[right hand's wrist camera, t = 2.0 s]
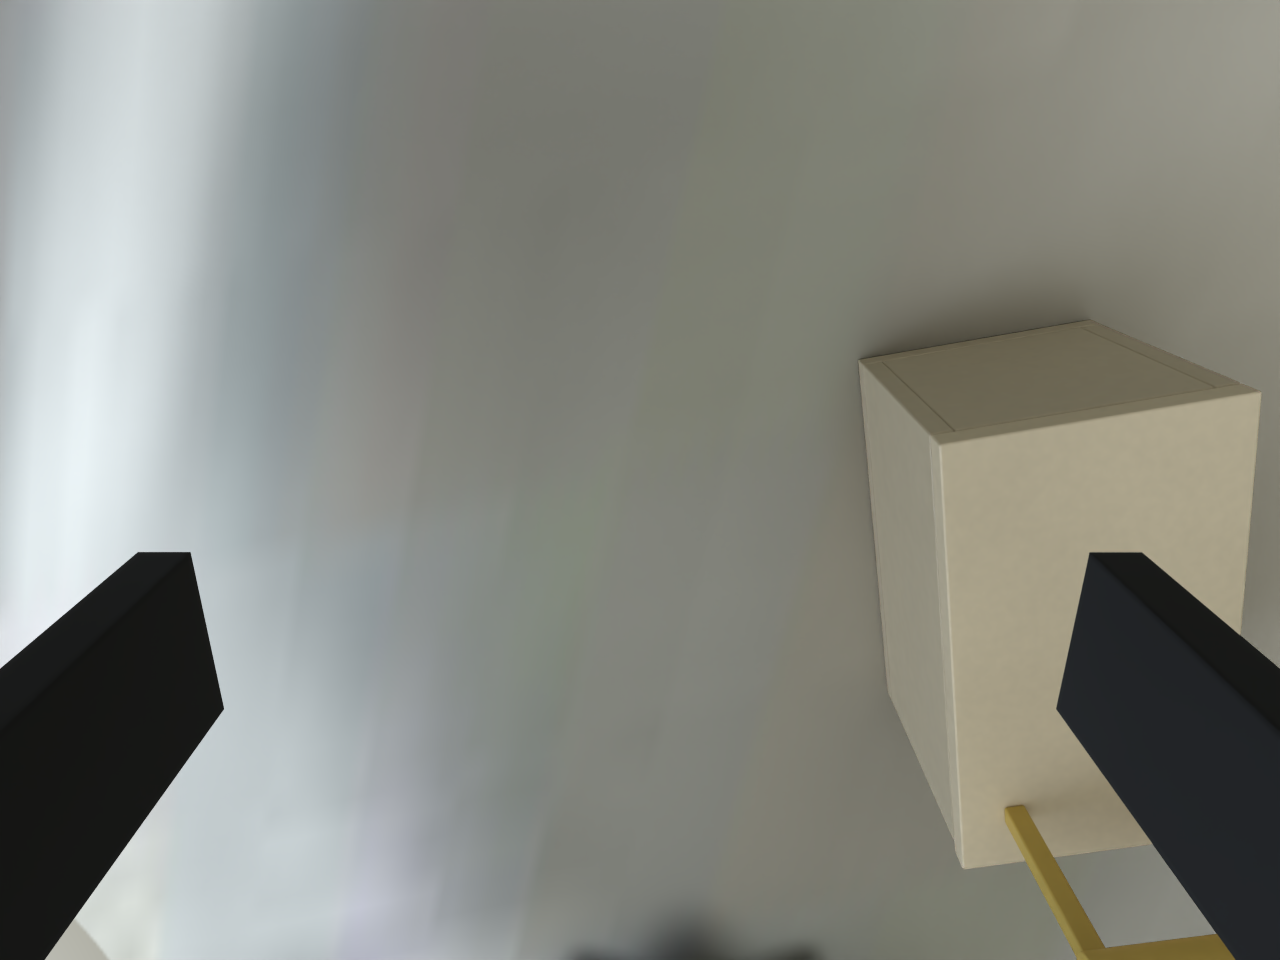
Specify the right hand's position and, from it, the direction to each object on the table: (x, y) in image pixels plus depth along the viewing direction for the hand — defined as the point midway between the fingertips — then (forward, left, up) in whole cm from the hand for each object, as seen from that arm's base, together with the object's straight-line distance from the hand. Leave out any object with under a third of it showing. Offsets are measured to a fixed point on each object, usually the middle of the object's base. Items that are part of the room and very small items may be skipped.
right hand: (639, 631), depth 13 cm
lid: (+9, +15, -14) cm, 22 cm away
